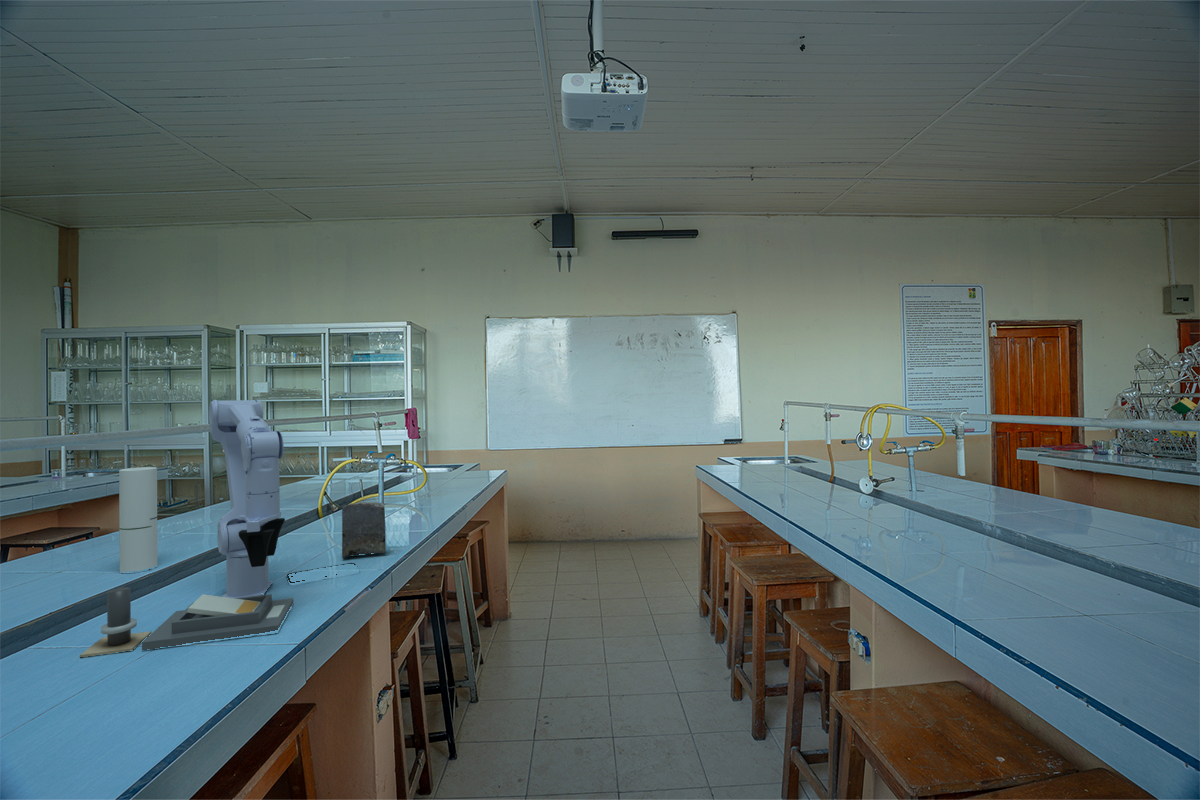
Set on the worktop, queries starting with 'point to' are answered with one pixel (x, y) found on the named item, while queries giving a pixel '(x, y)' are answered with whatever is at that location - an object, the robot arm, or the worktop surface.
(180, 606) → the worktop surface
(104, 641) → the pad
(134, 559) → the cylindrical container
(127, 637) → the dark round-ended cylinder
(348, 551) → the geological specimen
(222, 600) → the rocker switch
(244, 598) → the switch panel
